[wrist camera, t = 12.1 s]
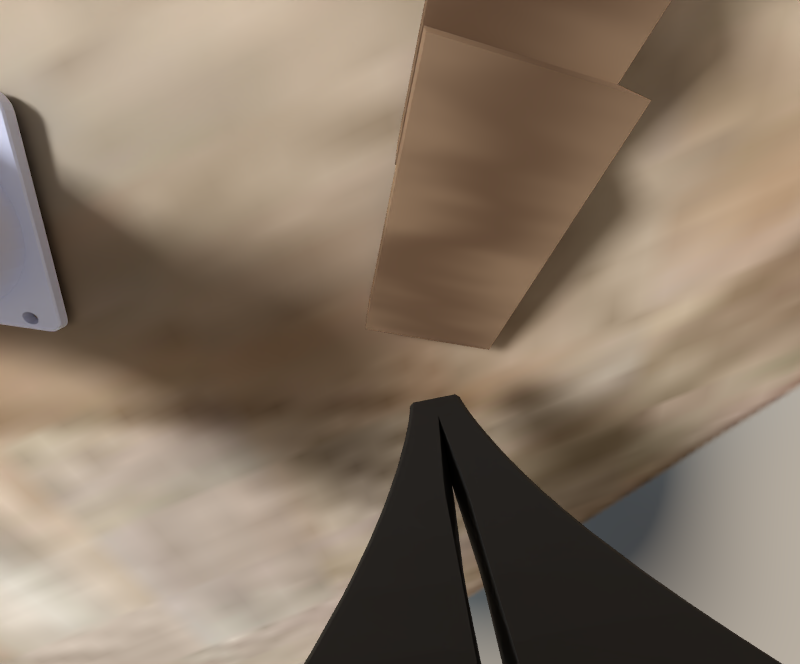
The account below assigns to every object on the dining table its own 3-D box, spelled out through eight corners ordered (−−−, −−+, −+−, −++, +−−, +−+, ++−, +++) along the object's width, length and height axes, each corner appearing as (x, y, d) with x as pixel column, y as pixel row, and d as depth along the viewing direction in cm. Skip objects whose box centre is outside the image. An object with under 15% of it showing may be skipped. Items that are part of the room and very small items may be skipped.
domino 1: (365, 329, 12) (425, 31, 6) (369, 301, 13) (423, 25, 7) (488, 349, 13) (651, 99, 7) (482, 321, 14) (618, 84, 8)
